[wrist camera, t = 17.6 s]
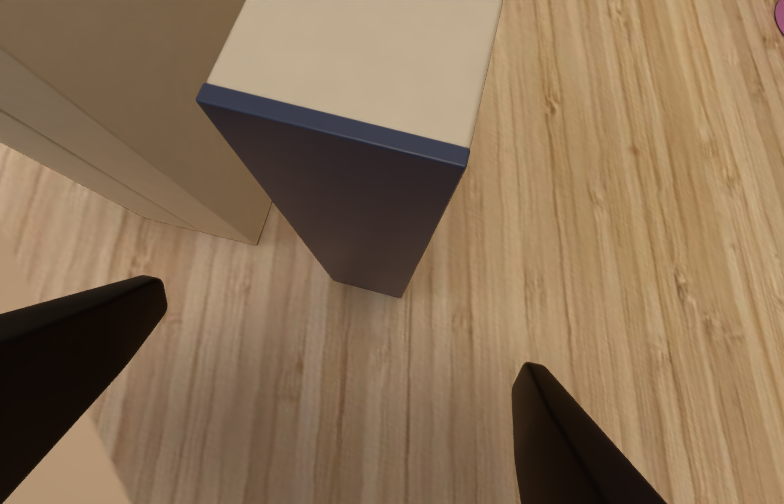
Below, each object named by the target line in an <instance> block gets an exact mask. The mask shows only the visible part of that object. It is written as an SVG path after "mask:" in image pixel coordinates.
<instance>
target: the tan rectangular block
mask: <svg viewBox="0 0 784 504" xmlns="http://www.w3.org/2000/svg"><path fill="white" fill-rule="evenodd" d="M245 1H246V0H0V142H1V143H3V144H5V145H7V146H8V147H10V148H12V149H14V150H16V151H18V152H20V153H22V154H24V155H26V156H28V157H29V158H31V159H33V160H35V161H37V162H39V163H41V164H43V165H45V166H47V167H49V168H51V169H52V170H54V171H56V172H58V173H60V174H62V175H64V176H66V177H68V178H70V179H72V180H73V181H75V182H77V183H79V184H81V185H83V186H85V187H87V188H89V189H91V190H93V191H94V192H96V193H98V194H100V195H102V196H104V197H106V198H108V199H110V200H112V201H114V202H116V203H117V204H119V205H121V206H123V207H125V208H127V209H129V210H131V211H133V212H135V213H137V214H138V215H140V216H142V217H144V218H146V219H150V220H154V221H158V222H162V223H166V224H171V225H175V226H179V227H183V228H187V229H191V230H195V231H201V232H203V233H207V234H212V235H216V236H220V237H224V238H228V239H232V240H236V241H241V242H245V243H249V244H253V245H257V242H258V240H259V237H260V234H261V231H262V228H263V226H264V223H265V220H266V217H267V214H268V212H269V209H270V206H271V203H272V200H271V199H270V197H269V196H268V195H267V193H266V192H265V191H264V189H263V188H262V187H261V186H260V184H259V183H258V182H257V180H256V179H255V178H254V176H253V175H252V174H251V173H250V171H249V170H248V169H247V167H246V166H245V165H244V163H243V162H242V161H241V160H240V158H239V157H238V156H237V154H236V153H235V152H234V150H233V149H232V148H231V147H230V145H229V144H228V143H227V141H226V140H225V139H224V137H223V136H222V135H221V134H220V132H219V131H218V130H217V128H216V127H215V126H214V124H213V123H212V122H211V120H210V119H209V118H208V117H207V115H206V114H205V113H204V111H203V110H202V109H201V107H200V106H199V105H198V104H197V102H196V97H197V95H198V93H199V91H200V89H201V87H202V85H203V83H207V80H208V78H209V76H210V73H211V71H212V69H213V67H214V65H215V63H216V61H217V59H218V57H219V55H220V53H221V51H222V49H223V47H224V45H225V43H226V41H227V38H228V36H229V34H230V32H231V30H232V28H233V26H234V24H235V22H236V20H237V18H238V16H239V14H240V12H241V10H242V8H243V6H244V3H245Z"/></svg>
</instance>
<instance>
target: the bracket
mask: <svg viewBox="0 0 784 504" xmlns="http://www.w3.org/2000/svg"><path fill="white" fill-rule="evenodd" d="M775 16H776V21H777V24H778V26H779V28H780V29H781V31H782V32H783V34H784V0H780V1H779V2H778V4H777V6H776V10H775Z"/></svg>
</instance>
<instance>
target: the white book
mask: <svg viewBox="0 0 784 504" xmlns="http://www.w3.org/2000/svg"><path fill="white" fill-rule="evenodd" d="M502 4H503V0H246V1H245V3H244V6H243V8H242V10H241V12H240V14H239V16H238V18H237V20H236V22H235V24H234V26H233V28H232V30H231V32H230V34H229V36H228V38H227V41H226V43H225V45H224V47H223V49H222V51H221V53H220V55H219V57H218V59H217V61H216V63H215V65H214V67H213V69H212V71H211V73H210V76H209V78H208V80H207V83H203V85H202V87H201V89H200V91H199V93H198V95H197V97H196V102H197V104H198V105H199V106H200V107H201V109H202V110H203V111H204V113H205V114H206V115H207V117H208V118H209V119H210V120H211V122H212V123H213V124H214V126H215V127H216V128H217V130H218V131H219V132H220V134H221V135H222V136H223V137H224V139H225V140H226V141H227V143H228V144H229V145H230V147H231V148H232V149H233V150H234V152H235V153H236V154H237V156H238V157H239V158H240V160H241V161H242V162H243V163H244V165H245V166H246V167H247V169H248V170H249V171H250V173H251V174H252V175H253V176H254V178H255V179H256V180H257V182H258V183H259V184H260V186H261V187H262V188H263V189H264V191H265V192H266V193H267V195H268V196H269V197H270V199H271V200H272V201H273V203H274V204H275V205H276V206H277V208H278V209H279V210H280V212H281V213H282V214H283V216H284V217H285V218H286V219H287V221H288V222H289V223H290V225H291V226H292V227H293V229H294V230H295V231H296V232H297V234H298V235H299V236H300V238H301V239H302V240H303V242H304V243H305V244H306V245H307V247H308V248H309V249H310V251H311V252H312V253H313V255H314V256H315V257H316V258H317V260H318V261H319V262H320V264H321V265H322V266H323V268H324V269H325V270H326V271H327V273H328V274H329V275H330V277H331V278H332V279H333V280H334V281H337V282H341V283H345V284H349V285H353V286H356V287H360V288H364V289H368V290H371V291H375V292H379V293H383V294H387V295H390V296H394V297H398V298H401V297H402V295H403V293H404V291H405V289H406V287H407V285H408V283H409V281H410V279H411V277H412V275H413V273H414V271H415V269H416V267H417V265H418V263H419V261H420V259H421V257H422V255H423V253H424V251H425V249H426V247H427V245H428V243H429V241H430V239H431V237H432V235H433V233H434V231H435V229H436V227H437V225H438V223H439V221H440V219H441V217H442V215H443V213H444V211H445V209H446V207H447V205H448V203H449V201H450V199H451V197H452V195H453V193H454V191H455V189H456V187H457V185H458V183H459V181H460V179H461V177H462V175H463V173H464V171H465V169H466V167H467V163H468V158H469V154H470V147H471V142H472V138H473V133H474V129H475V124H476V120H477V115H478V111H479V106H480V102H481V98H482V93H483V89H484V84H485V80H486V75H487V71H488V66H489V62H490V57H491V53H492V48H493V44H494V39H495V35H496V31H497V26H498V22H499V17H500V13H501V8H502Z"/></svg>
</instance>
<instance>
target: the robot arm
mask: <svg viewBox="0 0 784 504" xmlns="http://www.w3.org/2000/svg"><path fill="white" fill-rule="evenodd" d="M166 311H167V299H166V294H165V289H164V284H163V282H162V281H161V279H159V278H155V277H151V276H146V275H141V276H137V277H134V278H130V279H126V280H123V281H119V282H116V283H112V284H108V285H105V286H101V287H97V288H94V289H90V290H86V291H83V292H79V293H76V294H72V295H68V296H65V297H61V298H57V299H54V300H50V301H46V302H43V303H39V304H35V305H32V306H28V307H25V308H21V309H17V310H14V311H10V312H6V313H3V314H0V504H2V503H3V502H4V501H5V500H6V499H7V498H8V497H9V496H10V494H11V493H12V492H13V491H14V490H15V489H16V488H17V487H18V485H19V484H20V483H21V482H22V481H23V480H24V479H25V478H26V477H27V476H28V474H29V473H30V472H31V471H32V470H33V469H34V468H35V467H36V466H37V464H38V463H39V462H40V461H41V460H42V459H43V458H44V456H46V455H47V453H48V452H49V451H50V450H51V449H52V448H53V446H55V444H56V443H57V442H58V441H59V440H60V439H61V438H62V437H63V436H64V435H65V433H66V432H67V431H68V430H69V429H70V428H71V427H72V426H73V425H74V423H75V422H76V421H77V420H78V419H79V418H80V416H81V415H83V413H84V412H85V411H86V410H87V409H88V408H89V407H90V406H91V405H92V403H93V402H94V401H95V400H96V399H97V398H98V397H99V396H100V395H101V393H102V392H103V391H104V390H105V389H106V388H107V387H108V386H109V385H110V384H111V382H112V381H113V380H114V379H115V378H116V377H117V376H118V375H119V373H120V372H121V371H122V370H123V369H124V368H125V366H126V365H127V364H128V363H129V361H130V360H131V359H132V358H133V356H134V355H135V354H136V352H137V351H138V350H139V348H140V347H141V346H142V344H143V343H144V341H145V340H146V339H147V337H148V336H149V335H150V333H151V332H152V331H153V329H154V328H155V327H156V325H157V324H158V323H159V321H160V320H161V319H162V317H163V316H164V315H165V313H166ZM512 415H513V438H514V457H515V466H516V474H517V481H518V487H519V494H520V500H521V504H667V503H666V502H665V501H664V500H663V498H662V497H661V496H660V495H659V494H658V493H657V492H656V491H655V489H654V488H653V487H652V486H651V485H650V484H649V483H648V482H647V480H646V479H645V478H644V477H643V476H642V475H641V474H640V473H639V472H638V470H637V469H636V468H635V467H634V466H633V465H632V464H631V463H630V461H629V460H628V459H627V458H626V457H625V456H624V455H623V454H622V452H621V451H620V450H619V449H618V448H617V447H616V446H615V445H614V443H613V442H612V441H611V440H610V439H609V438H608V437H607V436H606V434H605V433H604V432H603V431H602V430H601V429H600V428H599V427H598V425H597V424H596V423H595V422H594V421H593V420H592V419H591V418H590V416H589V415H588V414H587V413H586V412H585V411H584V410H583V409H582V407H581V406H580V405H579V404H578V403H577V402H576V401H575V400H574V398H573V397H572V396H571V395H570V394H569V393H568V392H567V391H566V389H565V388H564V387H563V386H562V385H561V384H560V383H559V382H558V380H557V379H556V378H555V377H554V376H553V375H552V374H551V373H550V371H549V370H548V369H547V368H546V367H545V366H543V365H540V364H536V363H532V362H526V363H524V364H523V366H522V368H521V370H520V372H519V374H518V376H517V378H516V380H515V382H514V384H513V387H512Z"/></svg>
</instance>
